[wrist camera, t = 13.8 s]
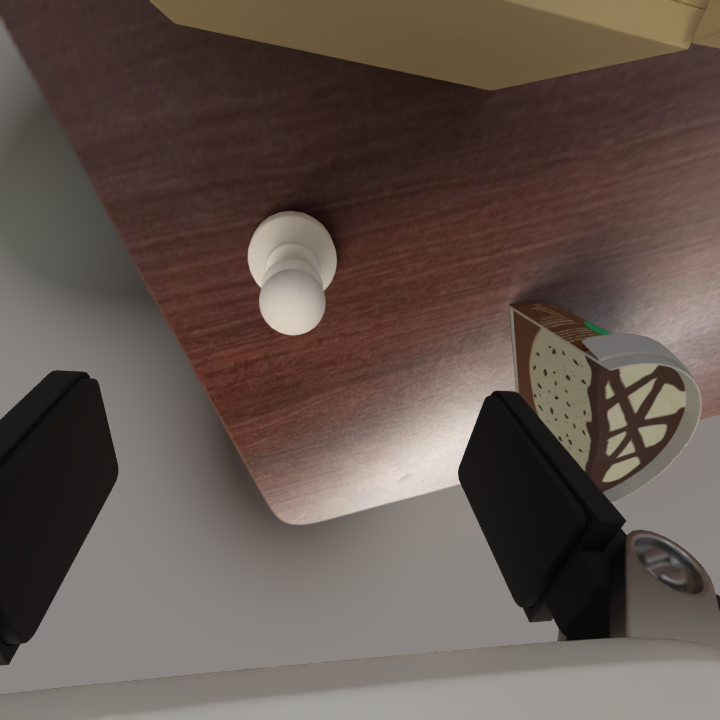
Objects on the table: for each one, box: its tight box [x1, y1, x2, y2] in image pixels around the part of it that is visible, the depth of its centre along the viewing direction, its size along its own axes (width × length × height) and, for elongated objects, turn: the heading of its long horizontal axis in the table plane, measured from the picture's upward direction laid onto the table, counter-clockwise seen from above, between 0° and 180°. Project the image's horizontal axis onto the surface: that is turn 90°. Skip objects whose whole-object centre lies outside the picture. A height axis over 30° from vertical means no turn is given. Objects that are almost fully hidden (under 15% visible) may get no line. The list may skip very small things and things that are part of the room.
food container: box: [509, 301, 702, 504], centre depth 25 cm, size 12×6×10 cm, turn 16°
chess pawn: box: [248, 211, 337, 335], centre depth 19 cm, size 5×5×9 cm
